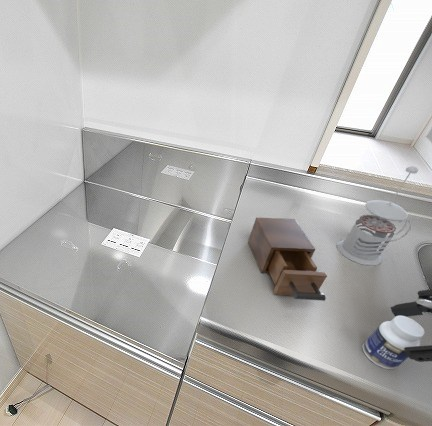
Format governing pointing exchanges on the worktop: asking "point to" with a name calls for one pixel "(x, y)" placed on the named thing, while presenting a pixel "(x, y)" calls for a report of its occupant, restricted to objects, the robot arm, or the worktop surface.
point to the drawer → (296, 275)
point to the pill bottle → (393, 341)
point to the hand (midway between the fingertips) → (399, 332)
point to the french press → (367, 244)
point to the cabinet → (276, 239)
